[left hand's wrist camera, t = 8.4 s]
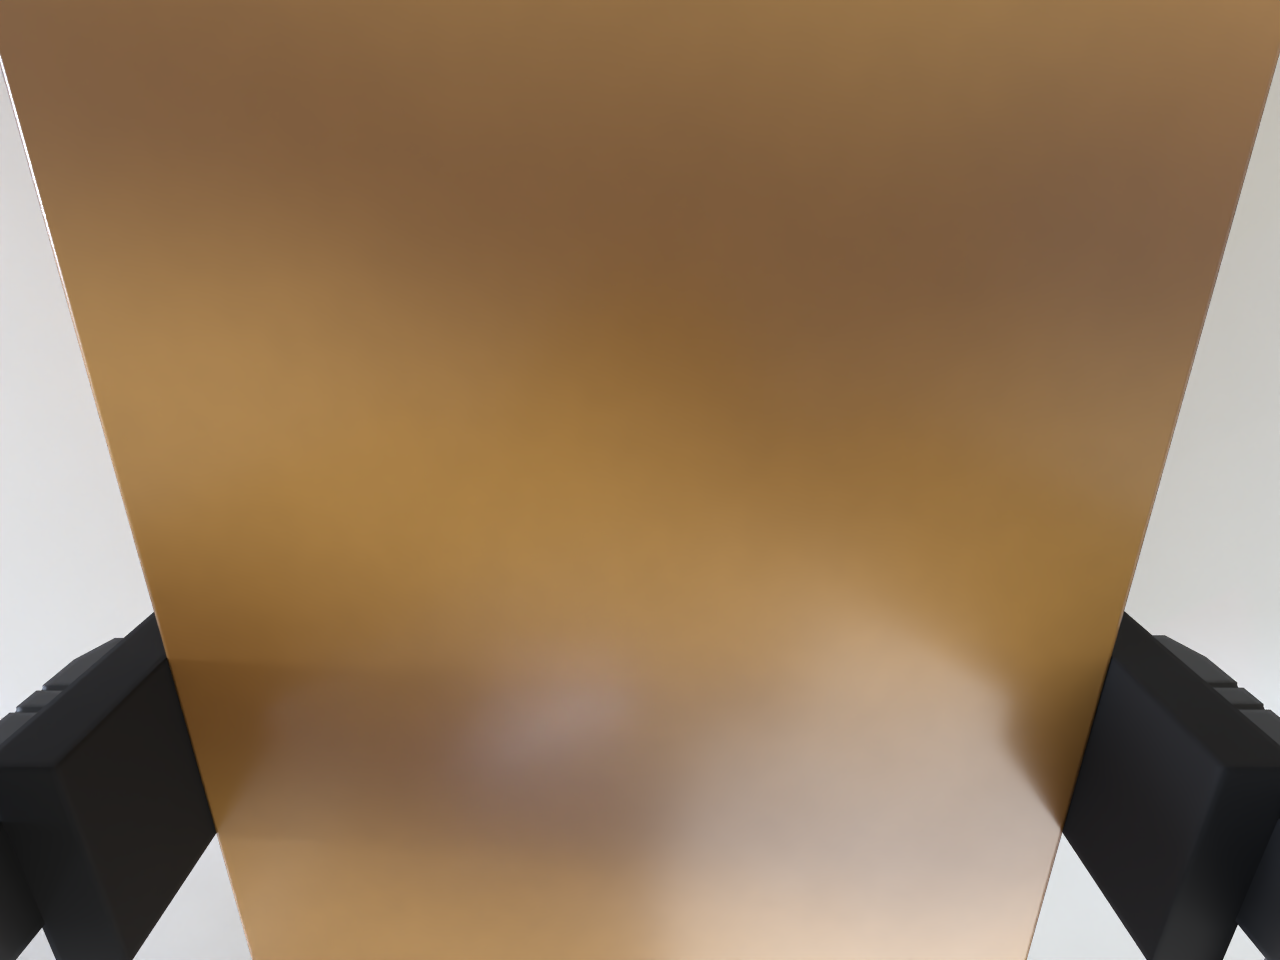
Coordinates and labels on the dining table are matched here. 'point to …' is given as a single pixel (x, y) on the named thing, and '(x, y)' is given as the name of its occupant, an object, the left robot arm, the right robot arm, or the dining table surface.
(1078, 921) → the dining table surface
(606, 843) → the cabinet
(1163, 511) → the dining table surface
